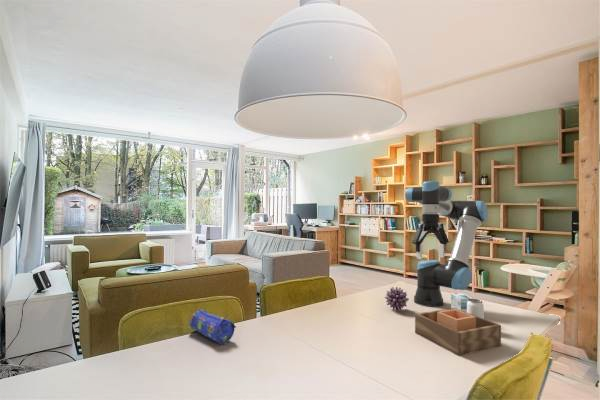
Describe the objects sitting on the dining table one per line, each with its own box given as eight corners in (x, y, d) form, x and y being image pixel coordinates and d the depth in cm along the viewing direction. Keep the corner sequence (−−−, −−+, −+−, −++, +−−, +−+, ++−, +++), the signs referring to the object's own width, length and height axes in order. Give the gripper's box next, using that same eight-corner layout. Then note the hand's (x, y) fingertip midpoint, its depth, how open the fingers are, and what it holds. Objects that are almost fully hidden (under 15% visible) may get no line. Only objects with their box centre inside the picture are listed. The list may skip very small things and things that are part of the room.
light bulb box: (475, 322, 149) (475, 299, 149) (460, 322, 149) (460, 298, 149) (464, 314, 160) (464, 292, 160) (450, 314, 160) (450, 292, 160)
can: (466, 328, 141) (466, 301, 141) (466, 324, 147) (467, 297, 147) (483, 331, 138) (483, 303, 138) (483, 326, 144) (483, 299, 144)
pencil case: (236, 341, 127) (236, 317, 127) (217, 348, 120) (217, 323, 120) (206, 326, 142) (206, 305, 142) (187, 332, 135) (188, 309, 135)
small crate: (455, 330, 136) (455, 309, 137) (475, 339, 127) (475, 316, 127) (437, 333, 133) (437, 311, 133) (457, 343, 123) (457, 320, 124)
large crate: (454, 325, 144) (454, 307, 144) (500, 346, 124) (500, 325, 124) (415, 332, 136) (415, 313, 136) (458, 355, 116) (458, 333, 116)
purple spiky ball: (379, 308, 168) (379, 285, 168) (397, 305, 173) (397, 283, 173) (395, 315, 158) (395, 290, 158) (413, 311, 163) (413, 288, 163)
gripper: (415, 213, 146) (415, 260, 145) (456, 213, 155) (456, 257, 155) (404, 213, 153) (404, 258, 152) (444, 213, 162) (444, 255, 162)
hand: (430, 258), depth 154 cm, fingers open, 13 cm apart
